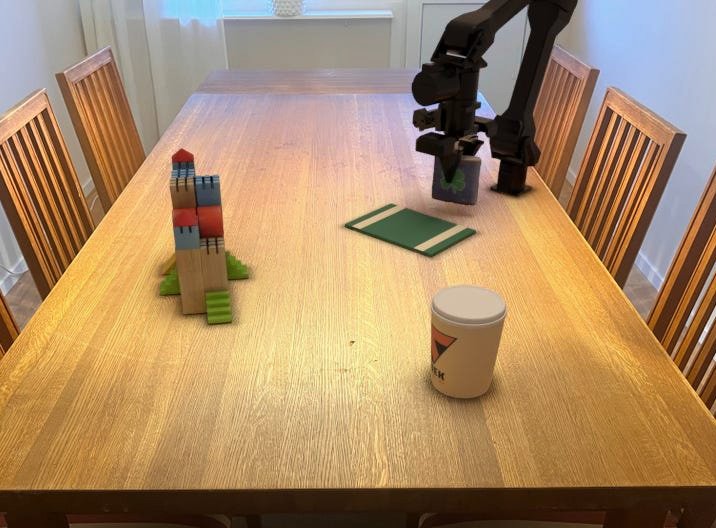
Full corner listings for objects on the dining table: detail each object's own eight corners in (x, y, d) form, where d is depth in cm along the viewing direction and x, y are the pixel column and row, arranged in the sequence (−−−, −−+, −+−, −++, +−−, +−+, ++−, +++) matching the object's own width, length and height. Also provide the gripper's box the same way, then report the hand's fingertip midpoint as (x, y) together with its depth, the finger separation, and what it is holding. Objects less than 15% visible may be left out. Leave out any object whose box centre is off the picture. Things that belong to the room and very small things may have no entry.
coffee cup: (418, 363, 101) (424, 284, 95) (486, 360, 102) (496, 281, 95) (432, 404, 93) (439, 321, 87) (505, 400, 94) (517, 318, 88)
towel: (390, 206, 149) (391, 202, 149) (475, 233, 138) (476, 229, 137) (344, 226, 140) (344, 223, 140) (431, 257, 129) (431, 254, 129)
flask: (478, 202, 144) (484, 147, 138) (473, 207, 142) (478, 152, 136) (434, 194, 147) (437, 140, 141) (428, 199, 145) (431, 144, 139)
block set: (255, 321, 111) (246, 197, 100) (158, 329, 109) (139, 203, 98) (243, 243, 134) (235, 136, 124) (163, 248, 132) (148, 140, 122)
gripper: (453, 80, 144) (446, 159, 153) (393, 98, 133) (390, 183, 141) (503, 89, 138) (493, 171, 146) (445, 109, 126) (438, 198, 135)
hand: (453, 180), depth 142 cm, fingers closed on flask, 3 cm apart
